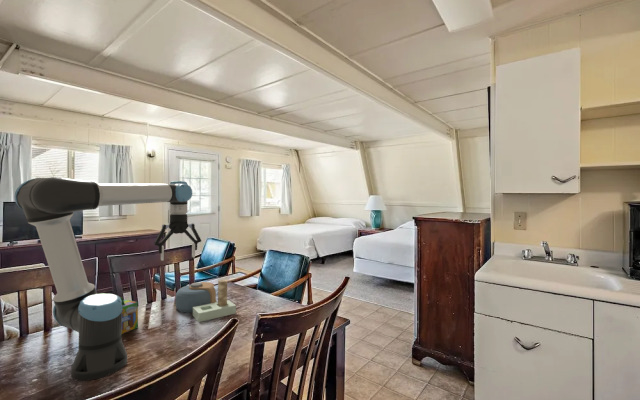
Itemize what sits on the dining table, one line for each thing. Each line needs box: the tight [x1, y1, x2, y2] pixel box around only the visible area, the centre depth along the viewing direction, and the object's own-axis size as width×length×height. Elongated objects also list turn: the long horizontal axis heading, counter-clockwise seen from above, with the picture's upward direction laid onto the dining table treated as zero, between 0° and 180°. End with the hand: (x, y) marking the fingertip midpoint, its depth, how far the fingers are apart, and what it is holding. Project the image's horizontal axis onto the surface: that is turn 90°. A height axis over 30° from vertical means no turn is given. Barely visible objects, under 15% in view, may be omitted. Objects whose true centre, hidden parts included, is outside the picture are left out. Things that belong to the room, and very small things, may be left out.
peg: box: [217, 279, 228, 307], centre depth 149 cm, size 3×3×16 cm
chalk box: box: [119, 296, 139, 335], centre depth 129 cm, size 9×9×15 cm
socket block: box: [192, 299, 237, 323], centre depth 147 cm, size 18×10×4 cm, turn 128°
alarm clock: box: [175, 281, 218, 313], centre depth 158 cm, size 19×20×12 cm
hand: (178, 258), depth 140 cm, fingers open, 13 cm apart
